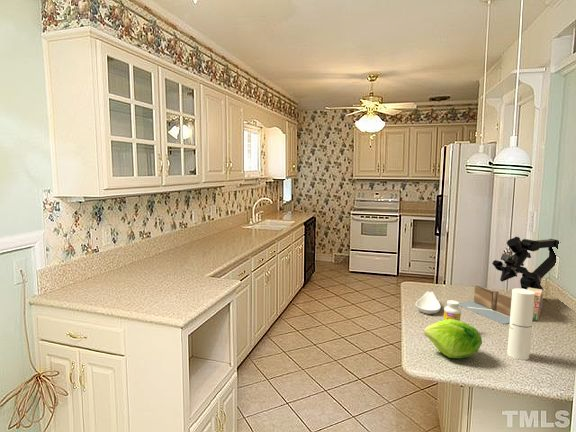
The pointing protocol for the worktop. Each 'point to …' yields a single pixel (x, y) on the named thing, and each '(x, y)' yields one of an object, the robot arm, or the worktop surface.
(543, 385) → the worktop surface
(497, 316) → the card
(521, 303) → the cylindrical container
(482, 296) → the wooden board
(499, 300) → the fence post and fixed panel
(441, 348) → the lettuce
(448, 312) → the supplement bottle
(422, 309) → the spoon rest
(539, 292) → the stack of blocks
